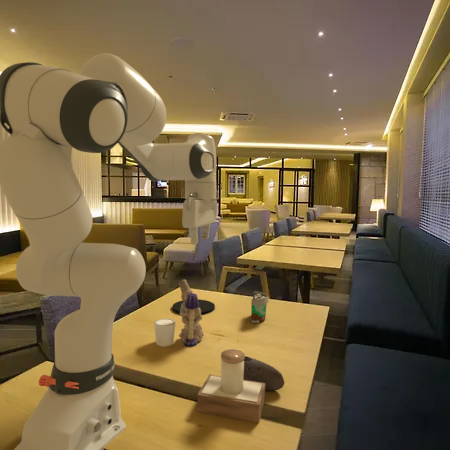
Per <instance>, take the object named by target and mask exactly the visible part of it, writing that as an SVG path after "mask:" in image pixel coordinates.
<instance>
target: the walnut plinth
mask: <svg viewBox="0 0 450 450" xmlns="http://www.w3.org/2000/svg"><path fill="white" fill-rule="evenodd" d="M196 396H197V398H196V399H197V404H196V405H197V407H196V409H197V410H196V412H199V413H205V414H209V415H214V416H220V417H226V418H231V419H237V420H241V421H247V422H254V423H260V421H261V415H262V412H263V409H264V404H265V399H266V390H265V383H261V382H254V381H247V380H244V383H243V391H242V392H241V393H238V394H227V393H225V392H223V391H222V390H221V375H213V374H209V375H208V376H207V378H206V380H205V381H204V383H203V385H202V386H201V388H200V389H199V391H198V393H197V395H196Z"/></svg>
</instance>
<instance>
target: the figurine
mask: <svg viewBox="0 0 450 450" xmlns="http://www.w3.org/2000/svg"><path fill="white" fill-rule="evenodd" d="M178 286H179V289H180V291H181V292H180V293H181V296H180V298H181V299H182V300H183V301H184V302H183V303H182V305H181V310H180V314H179V316H180V317H181V322H182V324H184V326H183V328H181V330H180V331H181V332H180V333H179V335H178V337H179V338H180V339H181V340H182V341H183V342H185V340H186V339H187V338H188V335H189V334H188V331H189V328H188V327H189V317H190V316H189V312H190V311H189V309H188V308H186V307H185V302H186V299H187V296H188V294H191V293H193V290H192V289H191V287H190V285H189V284H188V281H187V280H186V279H181V280H180V281H179V282H178ZM193 294H194V293H193ZM182 300H181V301H182ZM202 320H203V315H201V309H200V308H199V307H198V308H196V309H195V310H194V325H193V327H194V329H193V331H194V333H193V339H195V340H196V341H197V343H198V342H201V341H202V340H203V337H204V332H203V328H202V325H201V323H199V322H200V321H202Z"/></svg>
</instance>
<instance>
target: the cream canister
mask: <svg viewBox="0 0 450 450" xmlns="http://www.w3.org/2000/svg"><path fill="white" fill-rule="evenodd" d="M245 356H246V355H245V353H244V352H243V351H241V350H239V349H233V348H232V349H226V350H223V351H222V352H221V354H220V359H221V361H220V362H221V364H220V367H221V368H220V370H221V371H220V376H221V390H222V391H223V392H225V393H227V394H238V393H241V392H242V391H243V383H244V359H245Z"/></svg>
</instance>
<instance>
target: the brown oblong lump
mask: <svg viewBox="0 0 450 450" xmlns="http://www.w3.org/2000/svg"><path fill="white" fill-rule="evenodd" d="M244 380H247V381H254V382H261V383H265V391H278V390H281V389H282V388H283V387H284V386H285V381H284V380H285V379H284V376H283V375H282V372H280V371H279V370H278V369H276V368H275V367H274V366H271V365H270V364H269V363H266V362H264V361H261V360H258V359H256V358H252V357H250V356H247V355H245V359H244Z"/></svg>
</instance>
